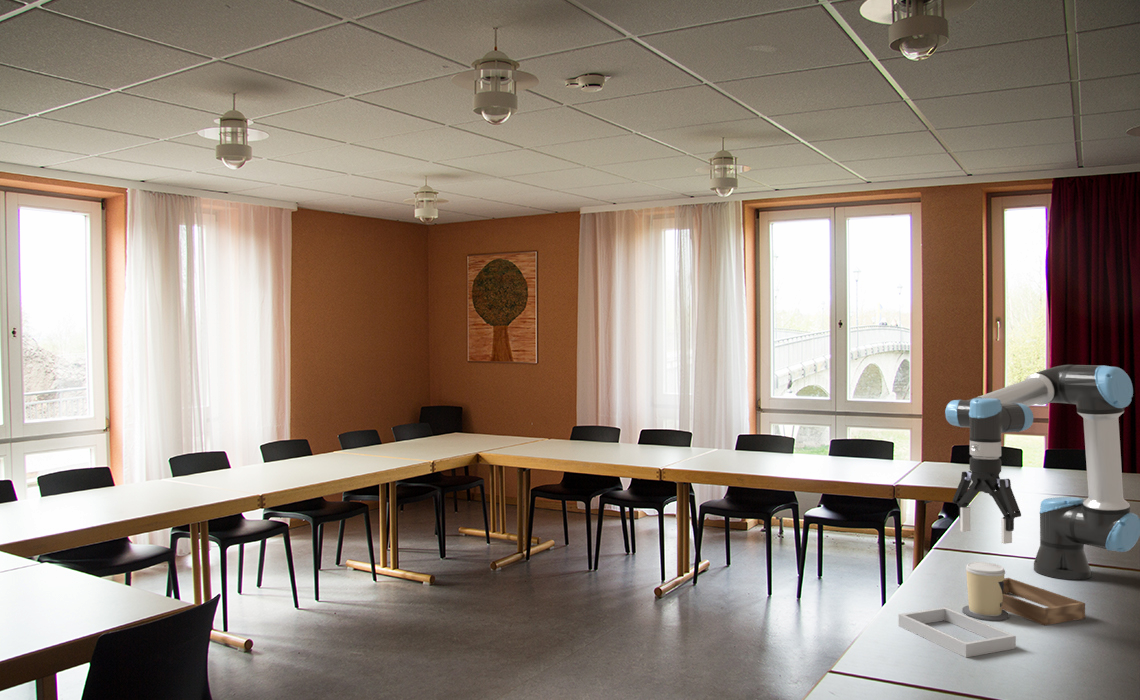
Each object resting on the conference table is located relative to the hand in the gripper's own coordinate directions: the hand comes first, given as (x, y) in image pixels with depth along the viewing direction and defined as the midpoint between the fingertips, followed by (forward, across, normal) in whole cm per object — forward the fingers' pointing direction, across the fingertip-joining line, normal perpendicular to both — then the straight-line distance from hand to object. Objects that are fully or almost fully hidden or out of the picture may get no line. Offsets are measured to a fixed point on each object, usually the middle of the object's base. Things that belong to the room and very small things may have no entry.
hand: (985, 537), depth 220 cm
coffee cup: (+20, 0, 0) cm, 20 cm away
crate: (+20, 0, +14) cm, 25 cm away
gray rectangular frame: (+20, +10, -20) cm, 30 cm away
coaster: (+20, 0, 0) cm, 21 cm away
